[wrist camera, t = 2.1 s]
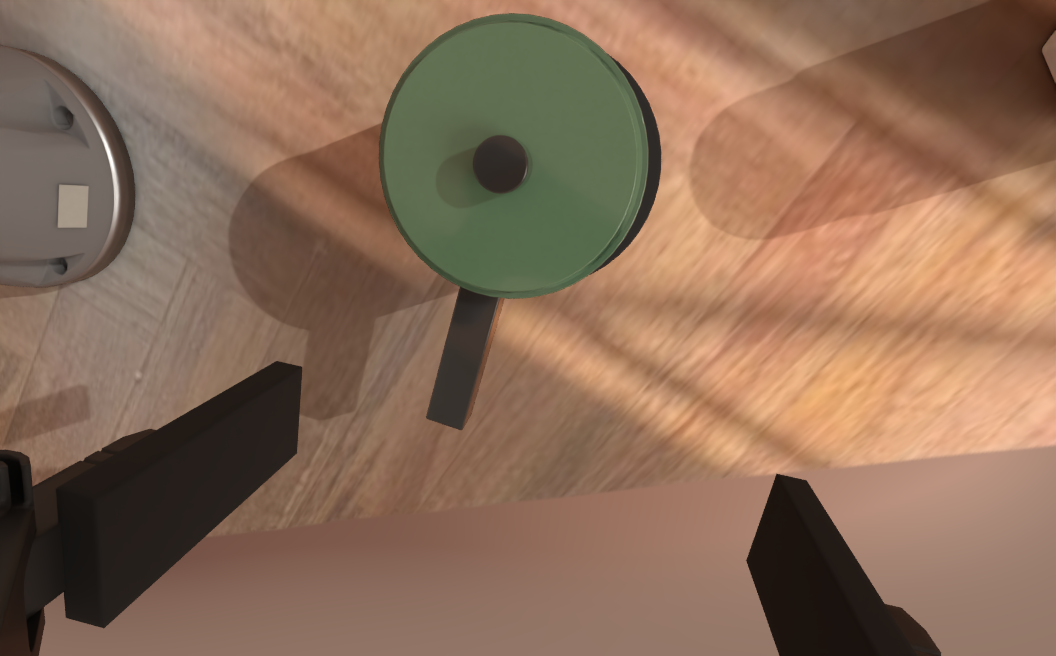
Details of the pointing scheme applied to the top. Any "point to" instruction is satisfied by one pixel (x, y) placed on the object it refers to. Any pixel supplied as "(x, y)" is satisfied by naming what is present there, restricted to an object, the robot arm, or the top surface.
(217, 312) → the top surface
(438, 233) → the pot
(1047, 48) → the jar
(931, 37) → the top surface
